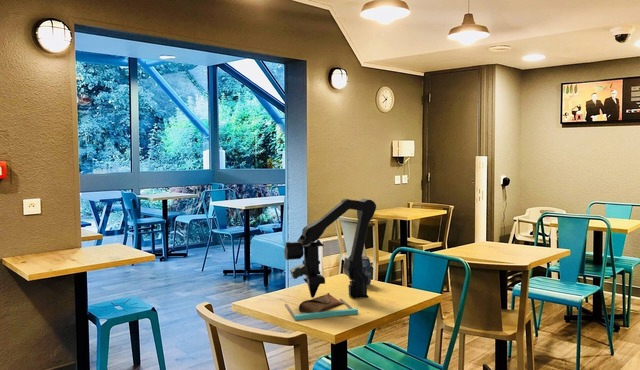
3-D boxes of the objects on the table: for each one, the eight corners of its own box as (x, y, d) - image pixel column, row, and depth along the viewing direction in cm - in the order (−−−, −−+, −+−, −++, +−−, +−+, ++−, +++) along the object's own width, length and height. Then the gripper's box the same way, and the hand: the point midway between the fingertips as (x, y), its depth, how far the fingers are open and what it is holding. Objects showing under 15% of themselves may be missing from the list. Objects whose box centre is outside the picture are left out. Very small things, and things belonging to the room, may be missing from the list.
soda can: (370, 286, 230) (369, 259, 230) (354, 286, 232) (353, 259, 231) (371, 283, 237) (371, 256, 236) (356, 282, 238) (355, 256, 238)
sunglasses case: (316, 314, 191) (308, 297, 193) (304, 322, 195) (296, 305, 197) (345, 303, 206) (337, 287, 207) (333, 310, 209) (325, 294, 211)
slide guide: (342, 299, 211) (341, 295, 211) (358, 313, 191) (358, 309, 191) (284, 305, 206) (284, 301, 206) (295, 320, 186) (295, 316, 186)
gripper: (287, 255, 216) (288, 293, 217) (295, 264, 198) (297, 305, 199) (313, 253, 219) (314, 291, 220) (324, 261, 201) (326, 302, 202)
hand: (312, 297), depth 210 cm, fingers closed
